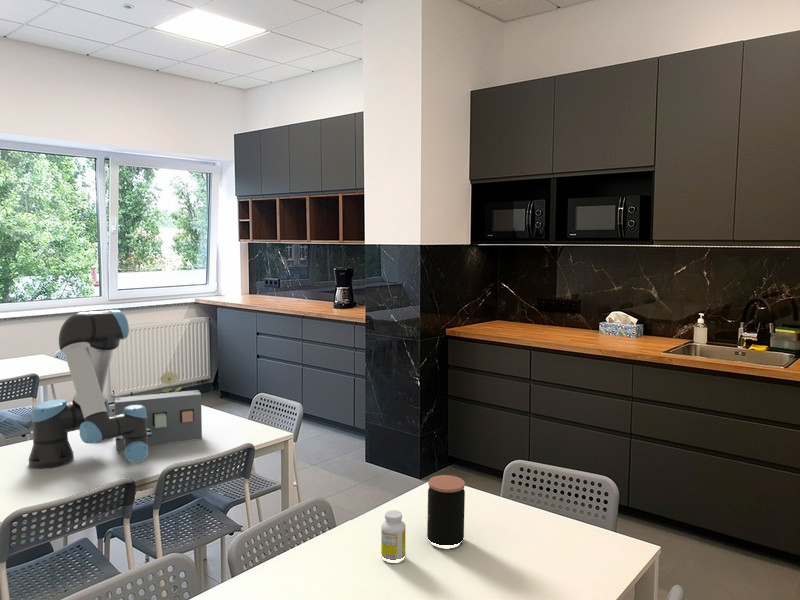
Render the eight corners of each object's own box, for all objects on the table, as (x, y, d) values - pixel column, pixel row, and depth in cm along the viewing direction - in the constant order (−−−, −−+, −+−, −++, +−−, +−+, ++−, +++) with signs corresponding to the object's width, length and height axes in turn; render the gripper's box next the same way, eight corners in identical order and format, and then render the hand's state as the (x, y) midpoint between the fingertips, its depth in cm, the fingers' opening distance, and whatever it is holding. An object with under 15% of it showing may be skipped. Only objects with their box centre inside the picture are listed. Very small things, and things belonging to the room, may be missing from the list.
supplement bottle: (398, 550, 169) (398, 506, 168) (409, 561, 163) (410, 516, 162) (377, 555, 166) (377, 511, 165) (387, 567, 160) (388, 521, 159)
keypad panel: (116, 449, 247) (114, 402, 245) (115, 443, 254) (114, 397, 252) (201, 438, 262) (201, 394, 260) (199, 433, 269) (198, 390, 267)
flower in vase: (192, 419, 290) (191, 368, 288) (185, 426, 279) (184, 374, 277) (165, 419, 290) (163, 368, 287) (157, 426, 278) (155, 374, 276)
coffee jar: (441, 529, 182) (442, 472, 180) (470, 540, 175) (472, 481, 173) (419, 542, 174) (420, 482, 172) (450, 554, 167) (451, 492, 165)
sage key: (155, 427, 248) (155, 417, 248) (154, 423, 254) (153, 413, 254) (166, 426, 250) (166, 416, 250) (165, 422, 256) (164, 412, 256)
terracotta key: (182, 422, 256) (182, 412, 256) (180, 418, 262) (180, 408, 262) (193, 421, 258) (192, 411, 258) (190, 417, 264) (190, 407, 264)
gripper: (116, 452, 223) (114, 434, 244) (153, 447, 229) (149, 430, 250) (115, 433, 223) (114, 416, 243) (153, 428, 228) (148, 412, 249)
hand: (131, 423), depth 247 cm, fingers closed
